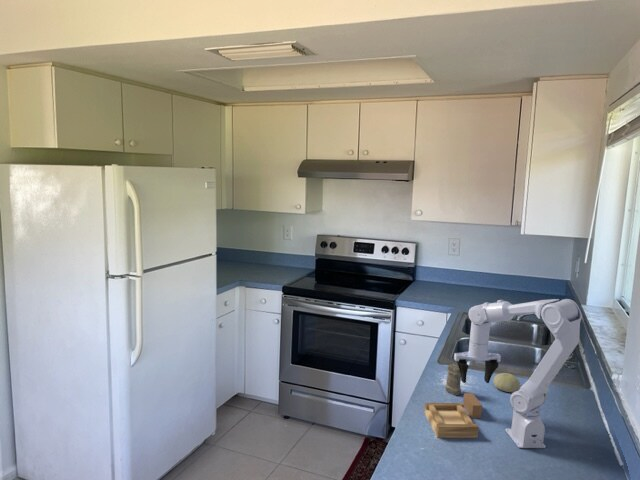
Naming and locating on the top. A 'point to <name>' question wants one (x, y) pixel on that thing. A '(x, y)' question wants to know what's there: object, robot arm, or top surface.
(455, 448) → the top surface
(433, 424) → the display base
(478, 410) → the tan wooden post
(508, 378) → the sea urchin shell
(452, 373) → the stone
